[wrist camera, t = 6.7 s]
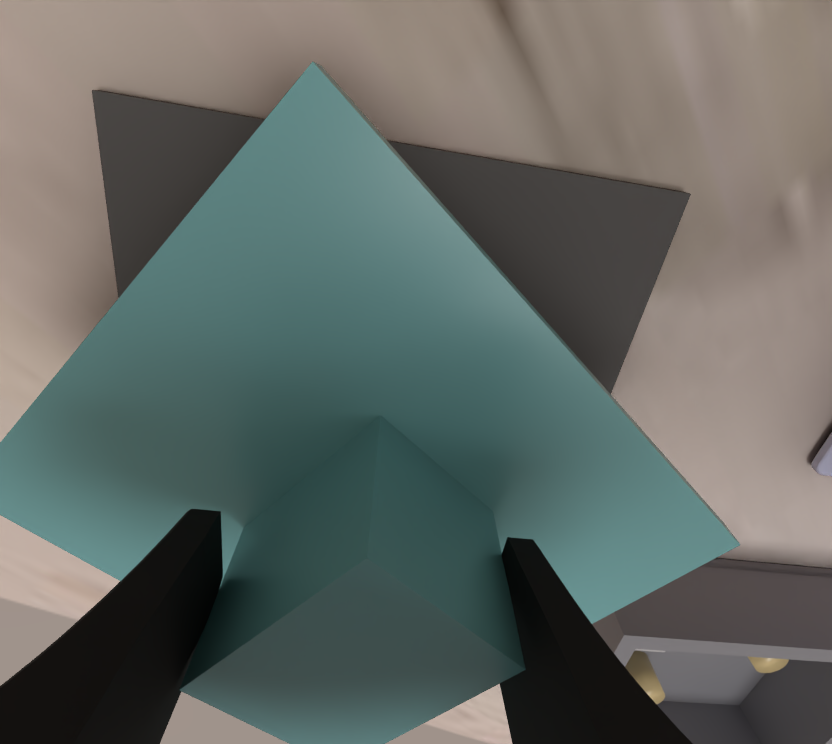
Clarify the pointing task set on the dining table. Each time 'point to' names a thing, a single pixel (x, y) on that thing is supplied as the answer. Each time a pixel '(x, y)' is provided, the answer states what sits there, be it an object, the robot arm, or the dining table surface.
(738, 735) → the tub
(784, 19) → the dining table surface
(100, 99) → the mat
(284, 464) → the lid
